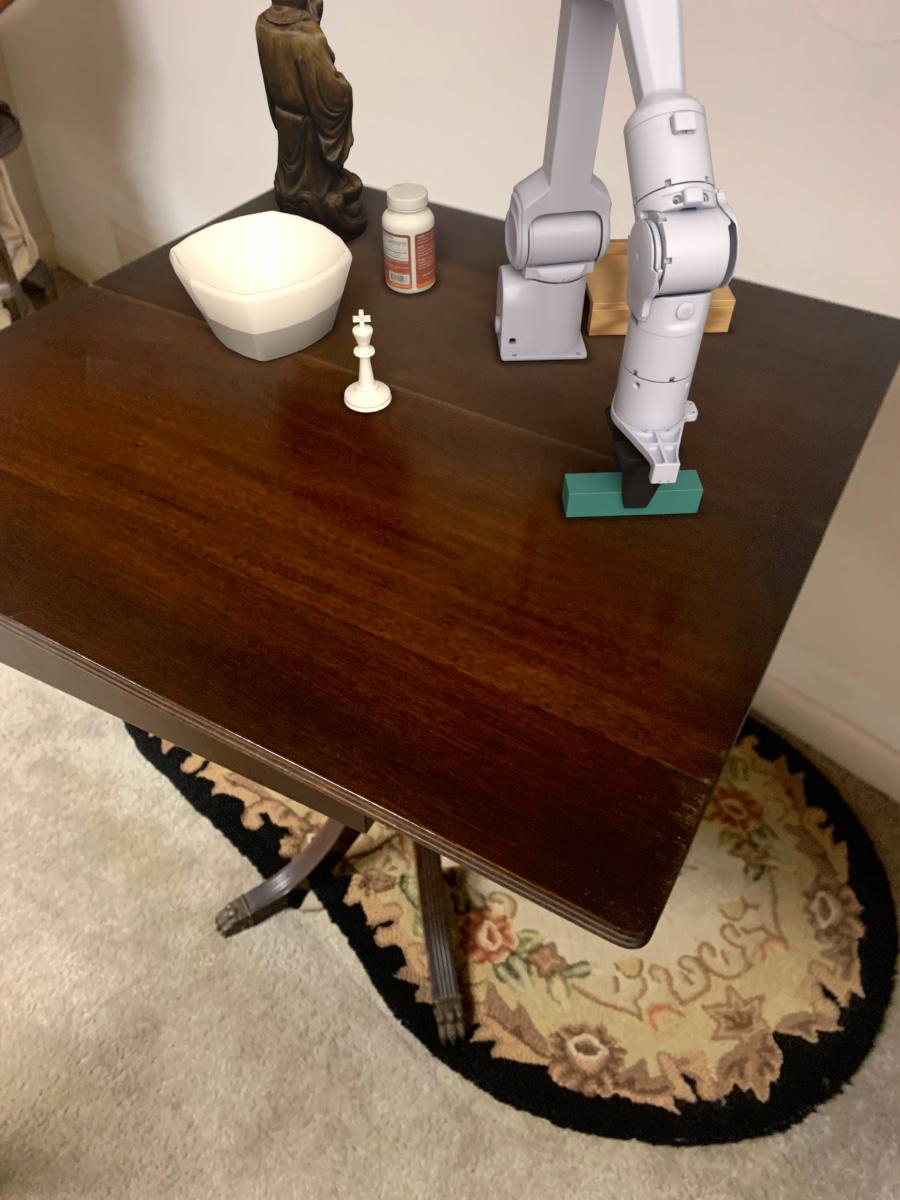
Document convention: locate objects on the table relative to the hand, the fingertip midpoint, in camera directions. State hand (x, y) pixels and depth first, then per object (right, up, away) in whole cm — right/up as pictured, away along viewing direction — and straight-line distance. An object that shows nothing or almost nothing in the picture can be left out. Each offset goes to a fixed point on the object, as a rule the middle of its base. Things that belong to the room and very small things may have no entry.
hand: (631, 493), depth 80 cm
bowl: (-37, +21, +21) cm, 47 cm away
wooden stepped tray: (+7, +25, +25) cm, 36 cm away
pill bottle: (-21, +29, +29) cm, 46 cm away
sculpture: (-33, +40, +38) cm, 64 cm away
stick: (0, -1, +1) cm, 1 cm away
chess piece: (-25, +11, +12) cm, 30 cm away
